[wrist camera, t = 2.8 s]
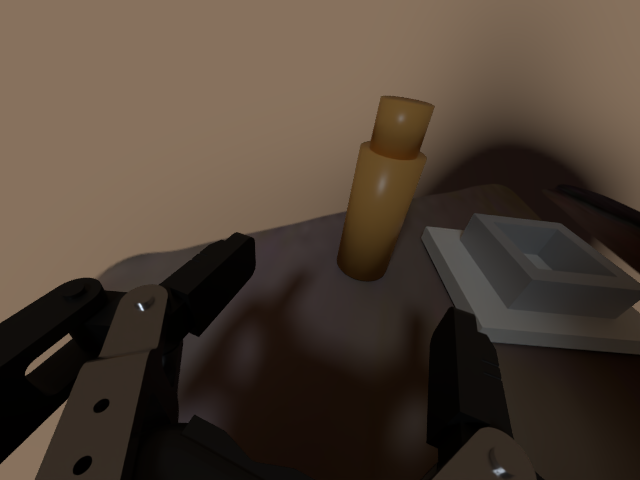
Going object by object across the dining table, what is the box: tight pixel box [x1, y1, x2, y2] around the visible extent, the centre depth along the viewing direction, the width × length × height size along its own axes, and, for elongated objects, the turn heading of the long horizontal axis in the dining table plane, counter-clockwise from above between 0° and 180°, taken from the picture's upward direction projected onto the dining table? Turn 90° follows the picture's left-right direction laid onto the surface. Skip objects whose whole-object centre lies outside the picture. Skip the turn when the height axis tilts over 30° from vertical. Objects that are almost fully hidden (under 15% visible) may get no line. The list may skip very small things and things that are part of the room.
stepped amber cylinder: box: [337, 96, 435, 281], centre depth 20 cm, size 4×4×13 cm
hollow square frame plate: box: [421, 213, 640, 355], centre depth 22 cm, size 14×12×4 cm
